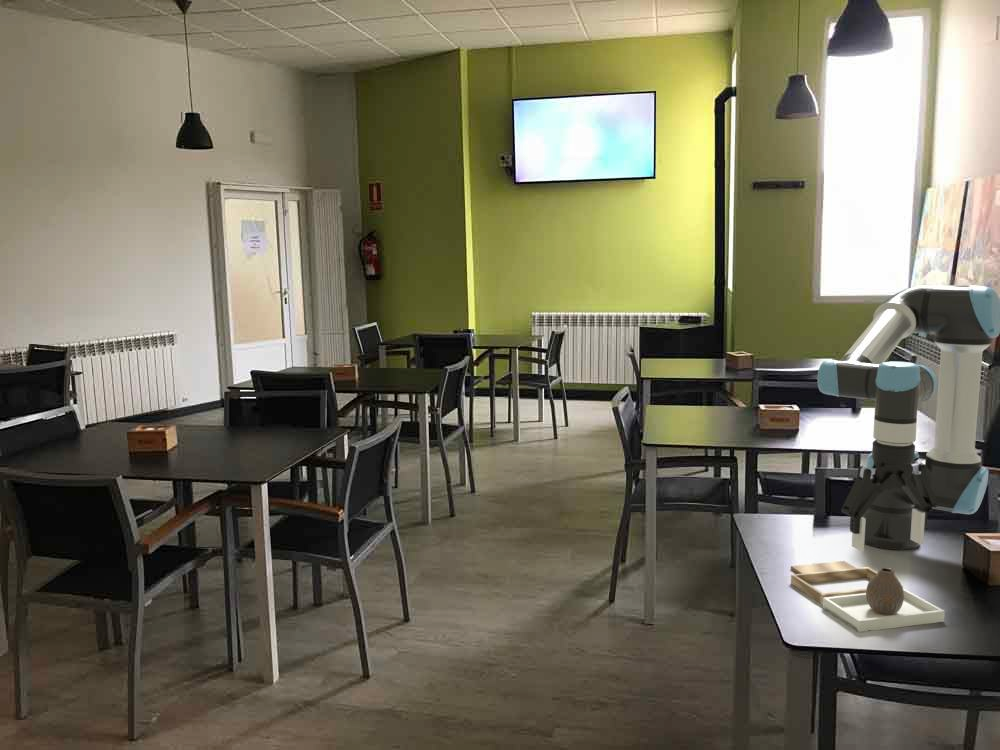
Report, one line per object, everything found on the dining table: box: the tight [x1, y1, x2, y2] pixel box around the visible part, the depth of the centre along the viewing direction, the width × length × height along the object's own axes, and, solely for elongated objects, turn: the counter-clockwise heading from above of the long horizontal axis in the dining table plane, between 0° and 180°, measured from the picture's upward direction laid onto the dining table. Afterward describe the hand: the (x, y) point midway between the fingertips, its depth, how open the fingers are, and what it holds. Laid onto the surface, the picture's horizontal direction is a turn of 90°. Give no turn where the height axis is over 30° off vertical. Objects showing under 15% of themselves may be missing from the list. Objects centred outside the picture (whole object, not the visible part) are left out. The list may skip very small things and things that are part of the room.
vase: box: [865, 567, 904, 615], centre depth 168 cm, size 7×7×9 cm
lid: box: [790, 560, 857, 574], centre depth 191 cm, size 14×6×1 cm, turn 104°
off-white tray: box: [822, 588, 946, 633], centre depth 168 cm, size 19×11×2 cm, turn 104°
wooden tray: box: [790, 566, 904, 605], centre depth 181 cm, size 19×11×2 cm, turn 104°
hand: (887, 545), depth 166 cm, fingers open, 13 cm apart
